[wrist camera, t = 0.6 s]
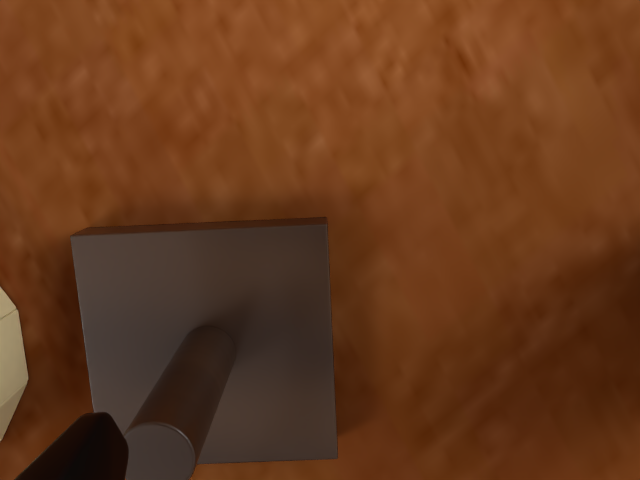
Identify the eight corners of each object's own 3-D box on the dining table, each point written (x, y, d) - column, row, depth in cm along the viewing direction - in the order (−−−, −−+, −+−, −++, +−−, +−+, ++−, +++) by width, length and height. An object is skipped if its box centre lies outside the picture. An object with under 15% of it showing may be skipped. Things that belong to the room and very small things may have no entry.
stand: (337, 438, 24) (342, 607, 16) (114, 447, 25) (4, 618, 16) (327, 216, 23) (327, 277, 14) (86, 227, 23) (-54, 293, 14)
